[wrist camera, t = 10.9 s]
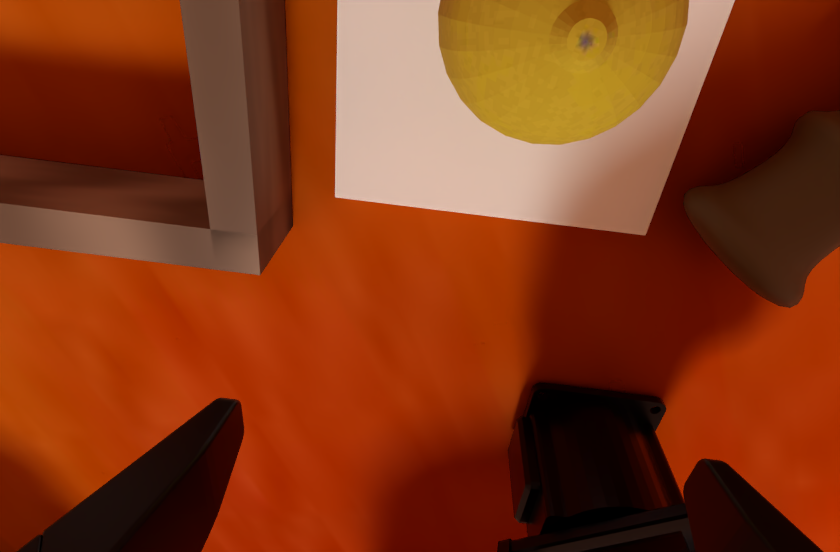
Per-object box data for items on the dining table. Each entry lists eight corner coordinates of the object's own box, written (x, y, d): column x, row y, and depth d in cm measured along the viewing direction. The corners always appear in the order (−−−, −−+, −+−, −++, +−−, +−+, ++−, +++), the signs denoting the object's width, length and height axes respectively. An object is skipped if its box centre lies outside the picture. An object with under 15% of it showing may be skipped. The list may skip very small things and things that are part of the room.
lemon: (434, -84, 14) (410, -137, 8) (634, -112, 14) (806, -201, 7) (450, 112, 17) (442, 201, 10) (617, 96, 17) (726, 180, 10)
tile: (820, -274, 13) (846, -292, 12) (637, 224, 20) (645, 235, 19) (349, -328, 13) (341, -350, 12) (340, 187, 20) (335, 197, 19)
